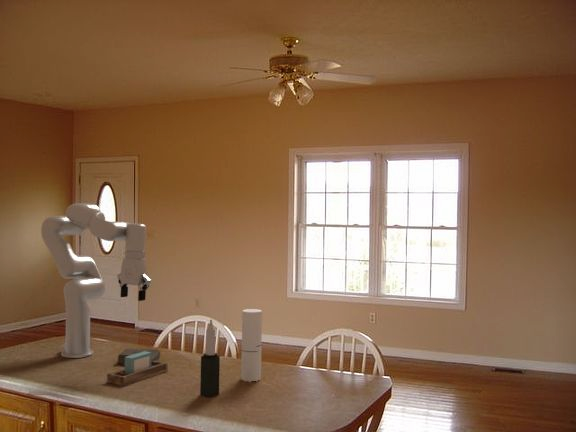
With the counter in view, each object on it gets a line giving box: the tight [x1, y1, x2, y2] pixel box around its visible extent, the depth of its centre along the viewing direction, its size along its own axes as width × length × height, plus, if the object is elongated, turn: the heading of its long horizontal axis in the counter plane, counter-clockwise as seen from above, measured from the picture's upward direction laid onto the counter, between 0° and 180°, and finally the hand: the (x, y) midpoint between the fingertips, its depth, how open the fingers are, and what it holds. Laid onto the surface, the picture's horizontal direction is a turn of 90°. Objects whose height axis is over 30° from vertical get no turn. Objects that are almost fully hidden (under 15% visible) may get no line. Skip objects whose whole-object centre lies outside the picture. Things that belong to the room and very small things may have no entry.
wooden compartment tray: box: [106, 360, 169, 387], centre depth 207 cm, size 8×22×3 cm, turn 151°
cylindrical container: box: [240, 308, 263, 383], centre depth 206 cm, size 7×7×25 cm
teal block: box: [124, 351, 152, 374], centre depth 207 cm, size 4×10×7 cm, turn 151°
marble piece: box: [117, 348, 161, 366], centre depth 227 cm, size 17×15×4 cm
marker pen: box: [199, 319, 221, 398], centre depth 188 cm, size 5×5×25 cm
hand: (132, 298), depth 221 cm, fingers open, 9 cm apart
